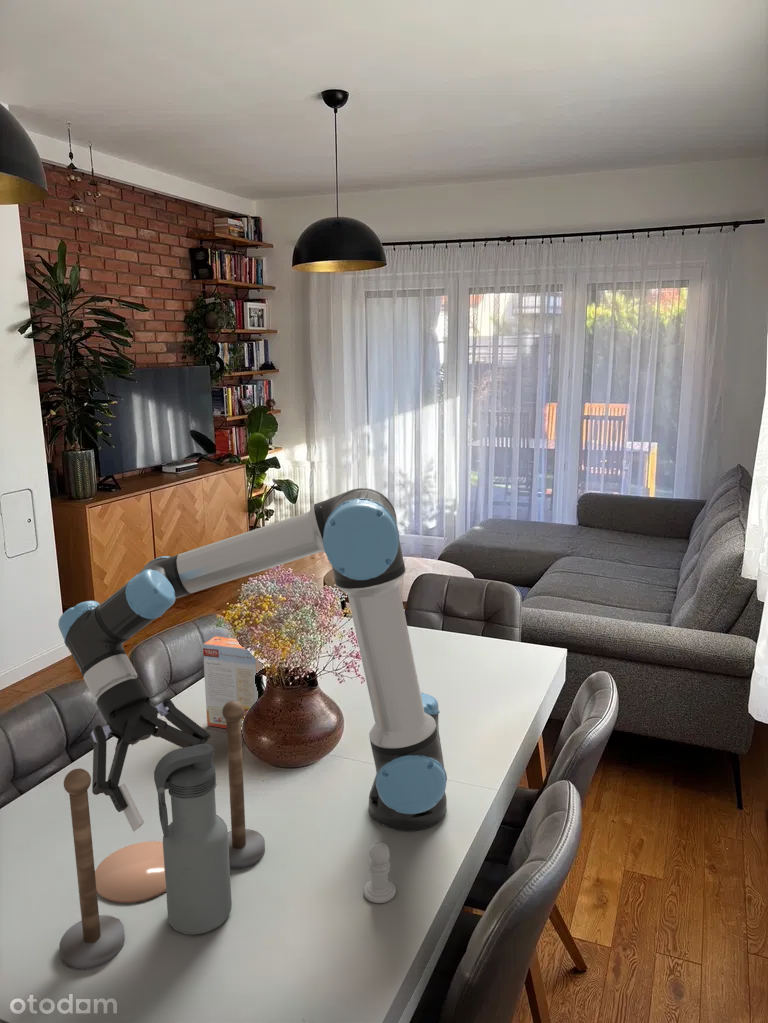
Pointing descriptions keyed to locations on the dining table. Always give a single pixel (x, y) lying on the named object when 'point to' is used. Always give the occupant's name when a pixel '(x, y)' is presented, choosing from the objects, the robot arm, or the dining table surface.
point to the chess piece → (379, 875)
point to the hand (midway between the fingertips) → (177, 806)
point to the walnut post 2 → (239, 796)
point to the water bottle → (193, 841)
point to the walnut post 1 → (87, 890)
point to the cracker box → (228, 677)
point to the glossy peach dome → (132, 873)
